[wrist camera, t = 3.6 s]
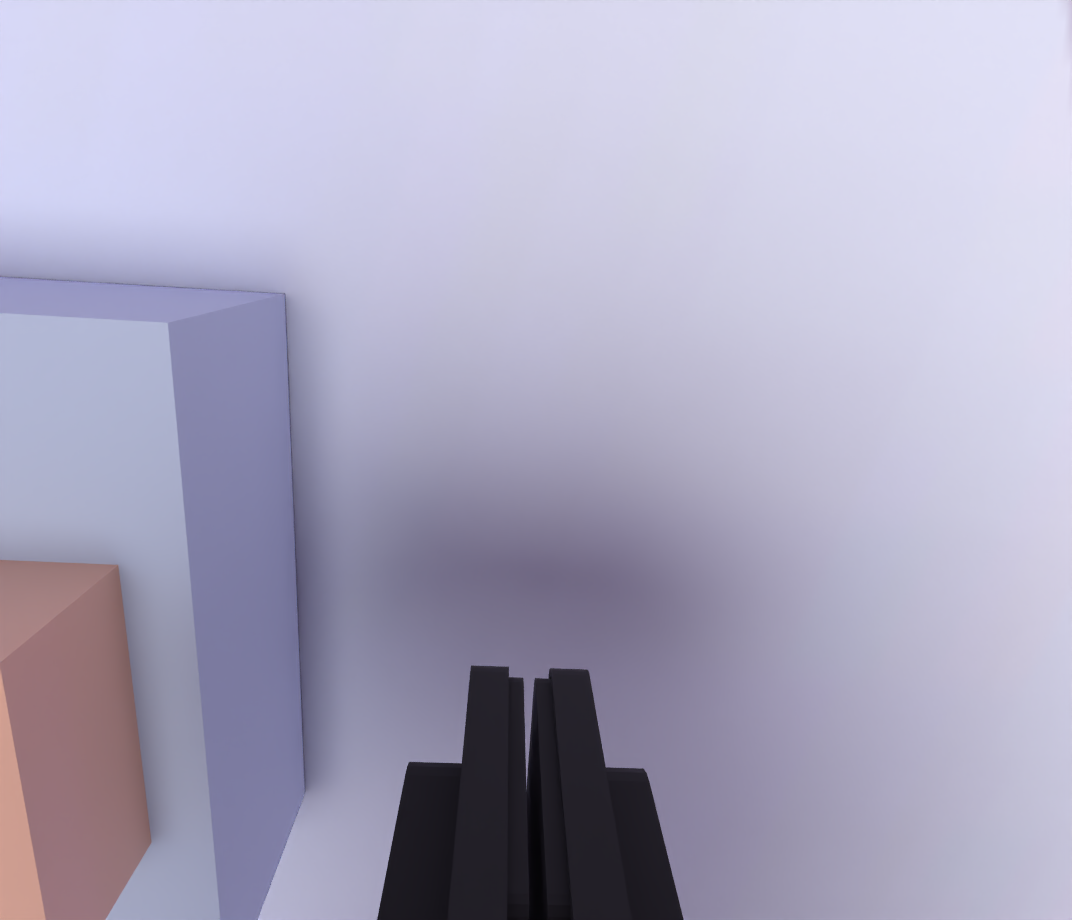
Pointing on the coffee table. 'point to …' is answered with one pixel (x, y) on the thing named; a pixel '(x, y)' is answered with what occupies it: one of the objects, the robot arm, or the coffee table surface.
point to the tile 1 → (67, 743)
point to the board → (172, 553)
